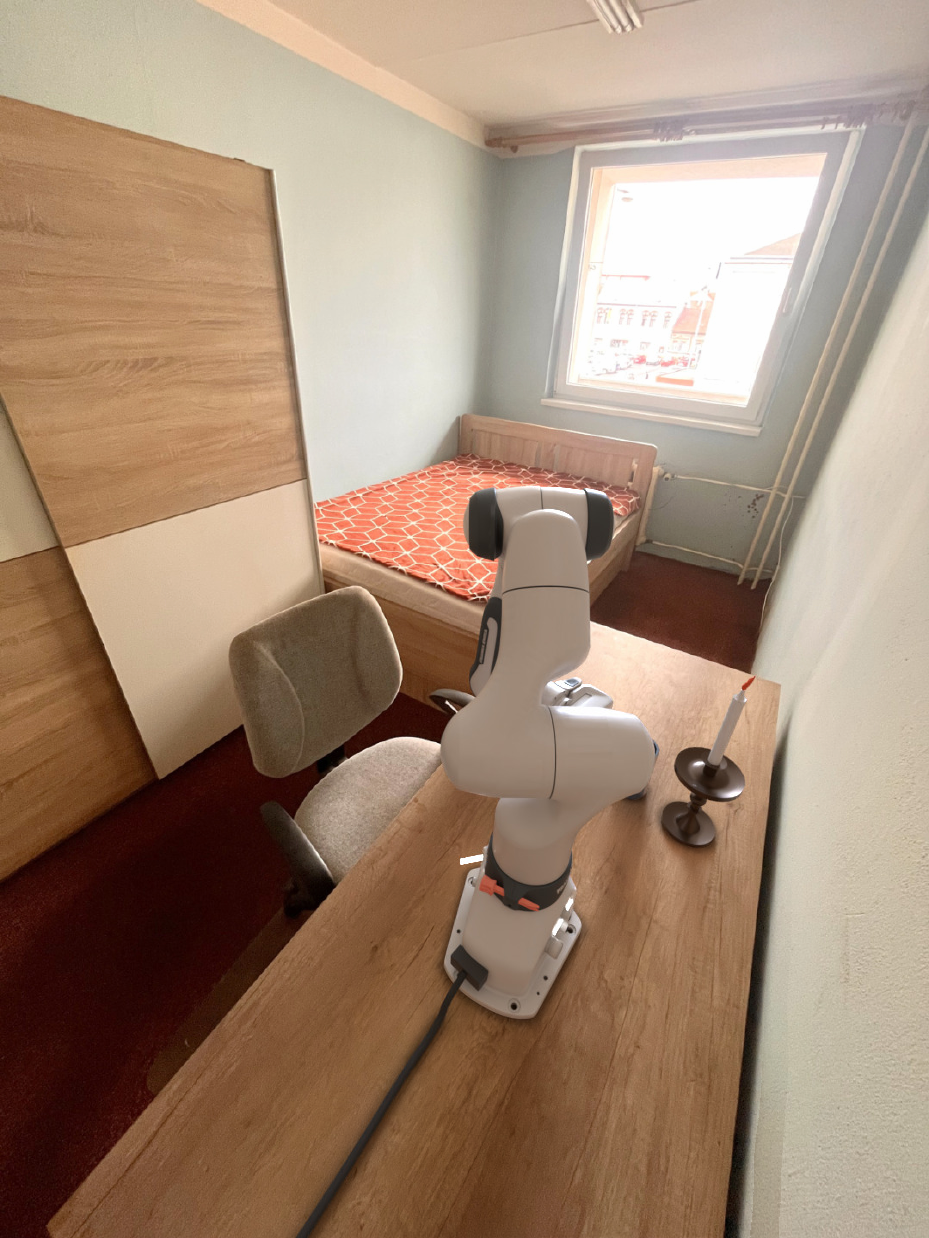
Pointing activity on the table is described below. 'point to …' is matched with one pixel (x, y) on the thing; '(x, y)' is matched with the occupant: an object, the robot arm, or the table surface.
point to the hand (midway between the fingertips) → (607, 740)
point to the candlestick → (705, 782)
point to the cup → (642, 793)
